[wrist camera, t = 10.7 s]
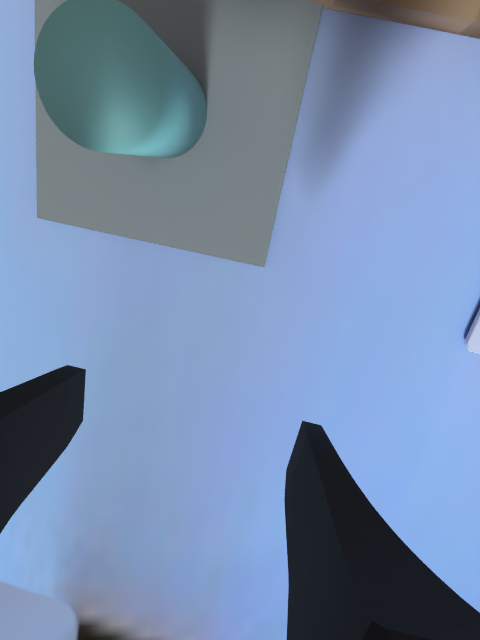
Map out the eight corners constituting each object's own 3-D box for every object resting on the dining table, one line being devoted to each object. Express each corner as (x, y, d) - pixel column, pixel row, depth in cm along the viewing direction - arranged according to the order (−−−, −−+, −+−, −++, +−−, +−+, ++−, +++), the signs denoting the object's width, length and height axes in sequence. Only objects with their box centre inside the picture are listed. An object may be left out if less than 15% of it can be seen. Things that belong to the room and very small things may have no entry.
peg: (214, 69, 16) (175, 11, 10) (198, 166, 18) (156, 165, 12) (125, 48, 17) (34, -21, 11) (116, 147, 18) (33, 136, 12)
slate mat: (329, -23, 15) (330, -28, 15) (264, 265, 20) (263, 267, 19) (40, -80, 16) (33, -86, 15) (41, 216, 20) (37, 217, 20)
